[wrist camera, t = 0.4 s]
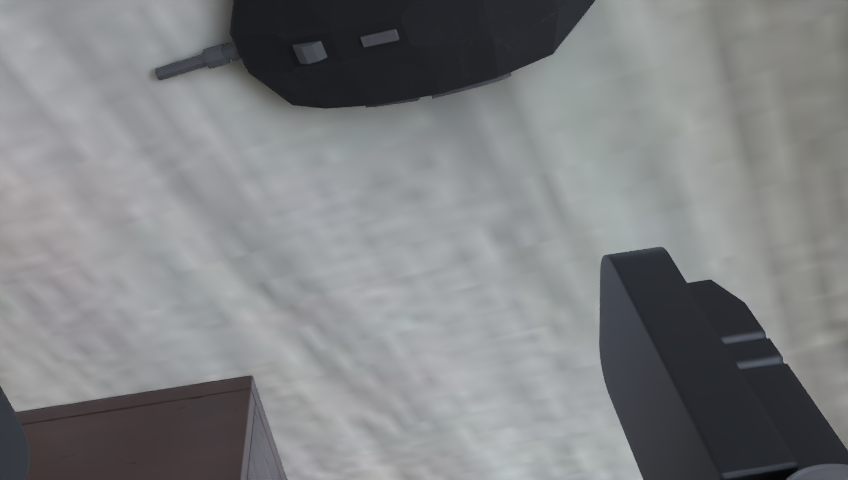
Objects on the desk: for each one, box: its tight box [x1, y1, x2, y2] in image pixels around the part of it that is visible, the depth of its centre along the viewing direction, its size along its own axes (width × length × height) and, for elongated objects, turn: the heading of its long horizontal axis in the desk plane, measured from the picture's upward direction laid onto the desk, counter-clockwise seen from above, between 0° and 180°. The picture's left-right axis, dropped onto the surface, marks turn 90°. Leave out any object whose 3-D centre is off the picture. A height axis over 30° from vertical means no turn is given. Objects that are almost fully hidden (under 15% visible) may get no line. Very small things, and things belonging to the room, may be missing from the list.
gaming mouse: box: [155, 0, 595, 108], centre depth 24 cm, size 6×15×4 cm, turn 107°
